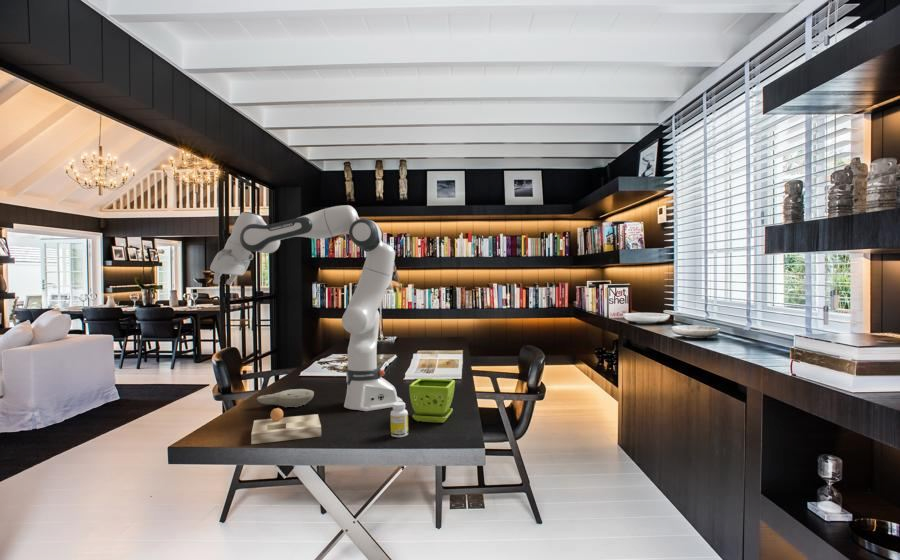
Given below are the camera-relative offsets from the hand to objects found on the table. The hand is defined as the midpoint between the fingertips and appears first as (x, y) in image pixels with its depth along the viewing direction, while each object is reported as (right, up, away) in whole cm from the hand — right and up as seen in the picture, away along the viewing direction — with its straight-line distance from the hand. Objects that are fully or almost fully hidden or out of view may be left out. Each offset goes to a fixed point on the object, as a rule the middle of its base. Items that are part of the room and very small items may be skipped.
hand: (222, 284), depth 184 cm
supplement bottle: (+72, -47, -36) cm, 93 cm away
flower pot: (+82, -47, -18) cm, 96 cm away
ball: (+32, -42, -29) cm, 60 cm away
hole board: (+36, -47, -33) cm, 68 cm away
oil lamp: (+25, -48, 0) cm, 54 cm away
